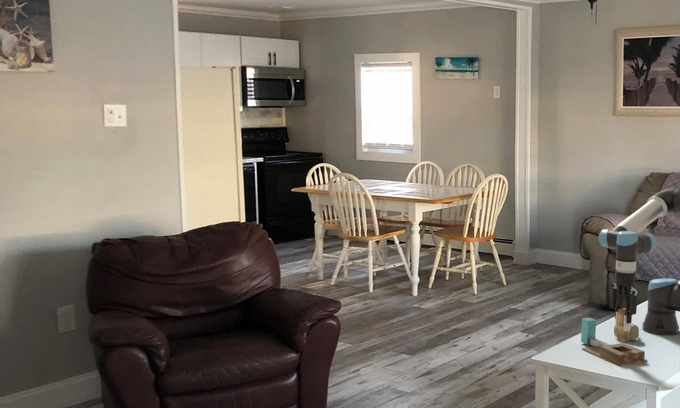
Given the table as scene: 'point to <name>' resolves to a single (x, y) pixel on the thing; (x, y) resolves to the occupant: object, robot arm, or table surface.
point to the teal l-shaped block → (590, 333)
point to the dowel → (621, 325)
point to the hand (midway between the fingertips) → (622, 329)
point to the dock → (618, 354)
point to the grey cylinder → (630, 332)
